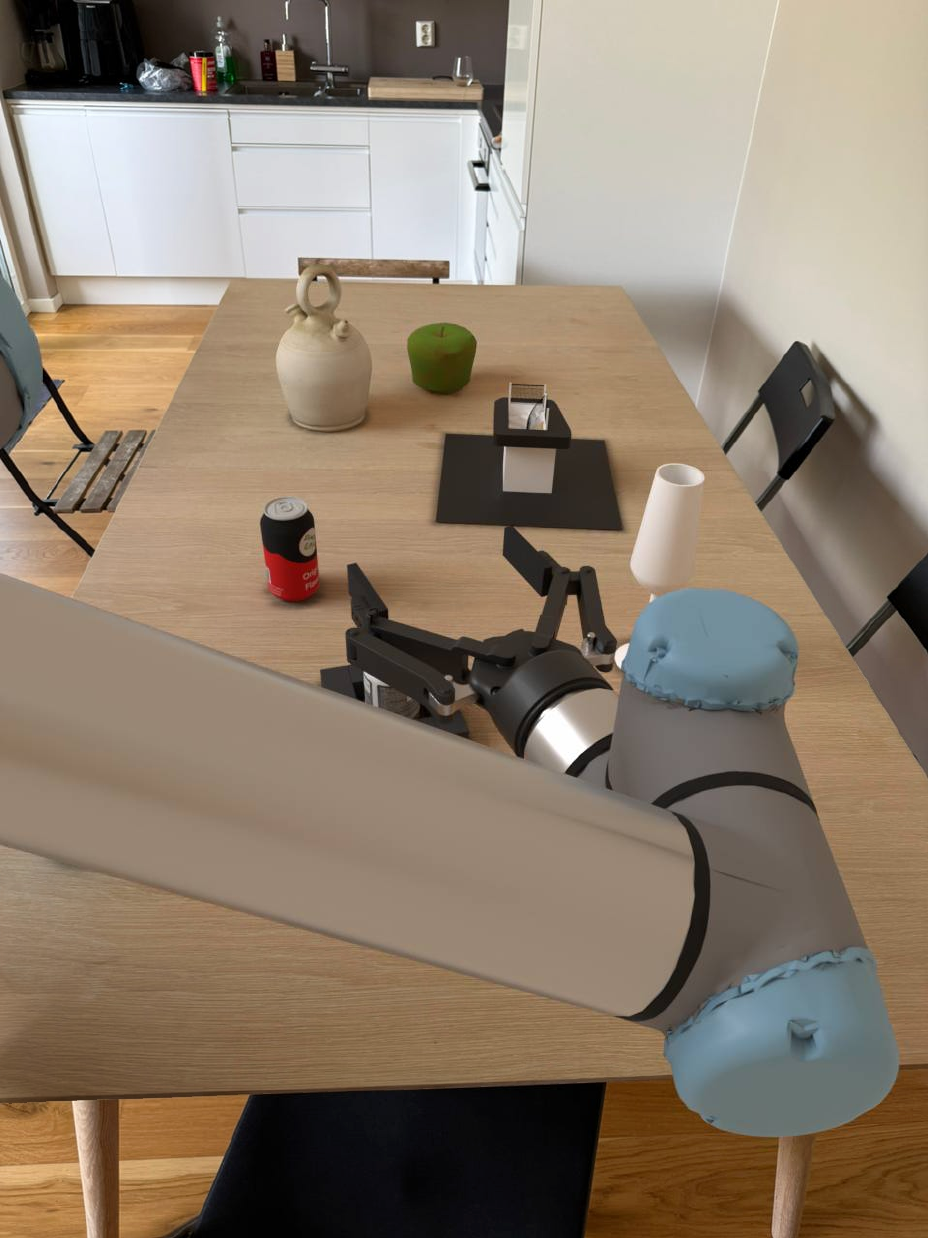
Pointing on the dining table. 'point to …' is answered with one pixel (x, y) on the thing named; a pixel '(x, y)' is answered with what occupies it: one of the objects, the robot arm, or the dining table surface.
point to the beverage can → (290, 549)
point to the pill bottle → (389, 698)
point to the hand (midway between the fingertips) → (432, 558)
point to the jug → (323, 361)
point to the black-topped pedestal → (527, 471)
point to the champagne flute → (668, 534)
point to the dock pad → (352, 685)
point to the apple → (441, 357)
